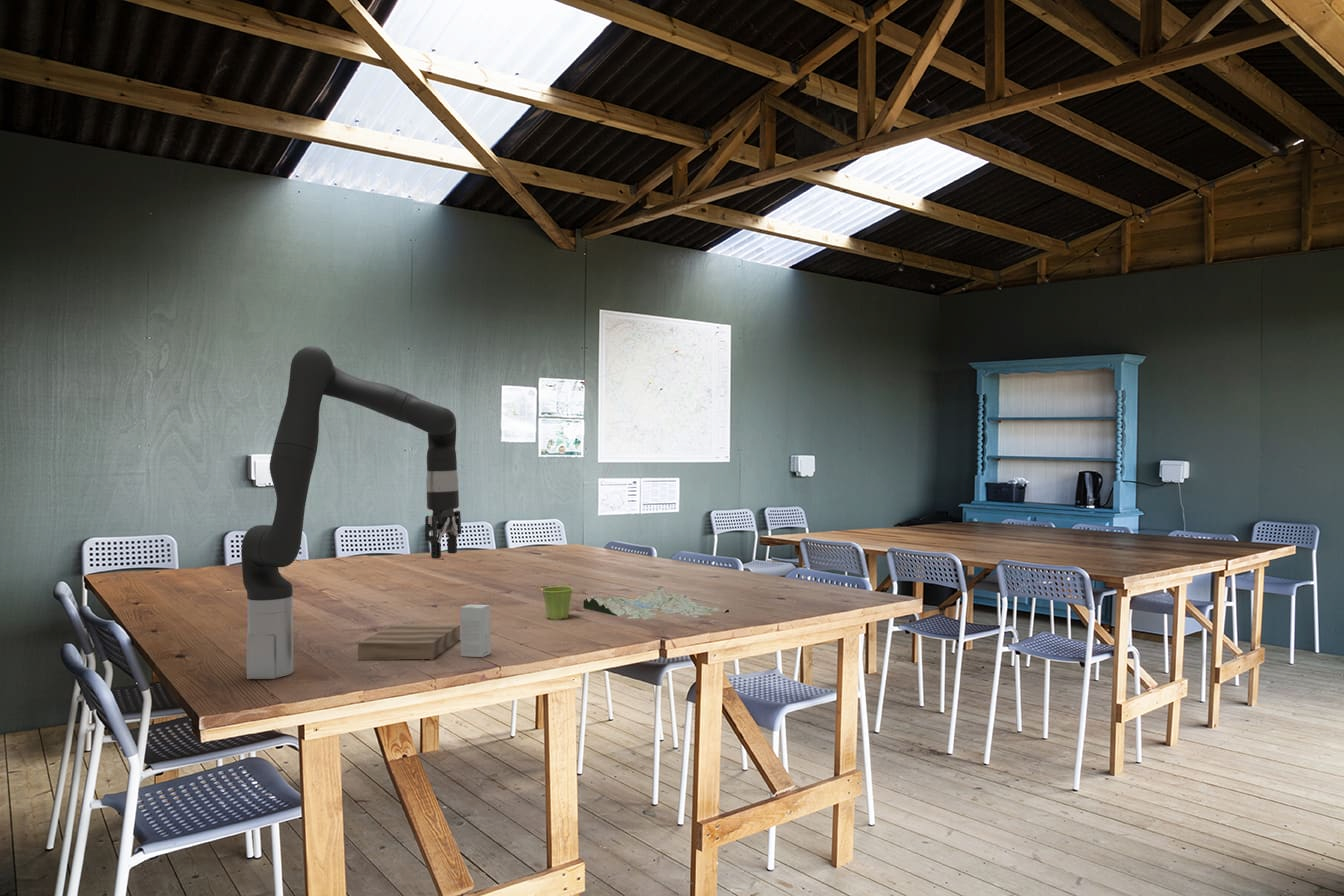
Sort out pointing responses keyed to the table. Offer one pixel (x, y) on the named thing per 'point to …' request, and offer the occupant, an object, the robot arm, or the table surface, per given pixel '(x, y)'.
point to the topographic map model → (647, 605)
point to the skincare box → (475, 630)
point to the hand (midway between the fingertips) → (444, 555)
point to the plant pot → (557, 601)
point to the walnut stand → (409, 642)
